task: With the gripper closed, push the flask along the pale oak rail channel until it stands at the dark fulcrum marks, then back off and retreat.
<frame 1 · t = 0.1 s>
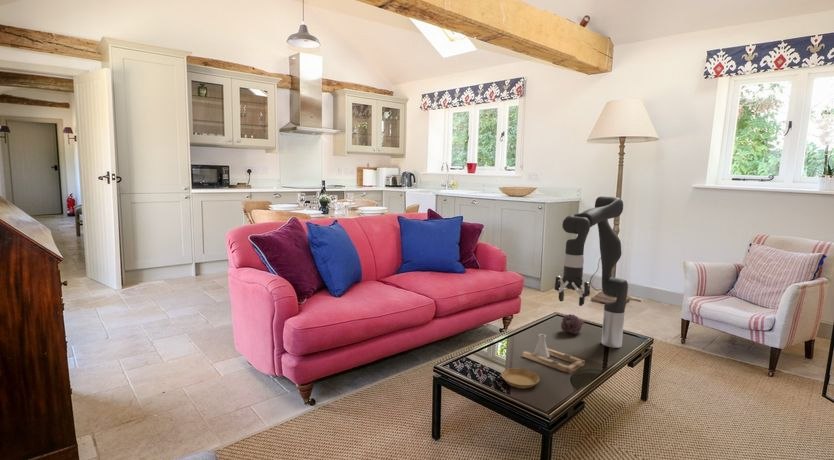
hand: (570, 303, 185), 29 cm above the table, fingers open, 8 cm apart
beam channel: (550, 359, 199), on the table
pine cone: (570, 333, 234), on the table
flask: (540, 356, 203), on the table
plant saucer: (519, 382, 177), on the table
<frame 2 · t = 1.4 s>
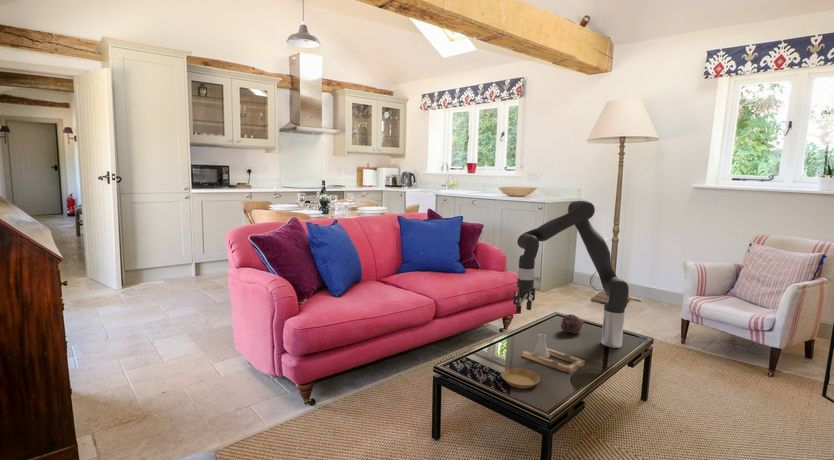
hand: (523, 311, 207), 19 cm above the table, fingers open, 8 cm apart
nothing on the table moved.
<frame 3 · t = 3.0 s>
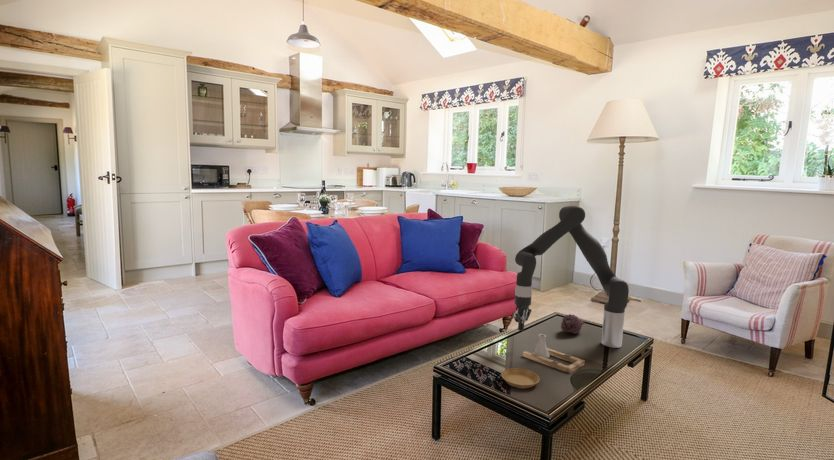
hand: (520, 330, 209), 9 cm above the table, fingers closed
nothing on the table moved.
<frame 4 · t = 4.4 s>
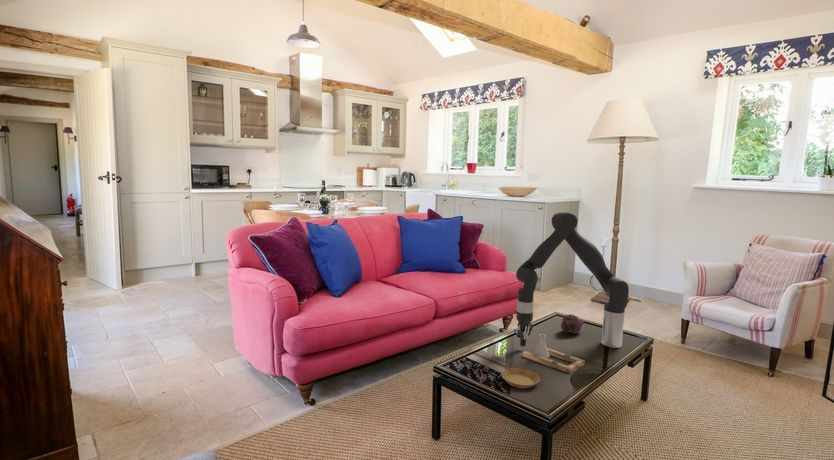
hand: (522, 345, 209), 2 cm above the table, fingers closed
nothing on the table moved.
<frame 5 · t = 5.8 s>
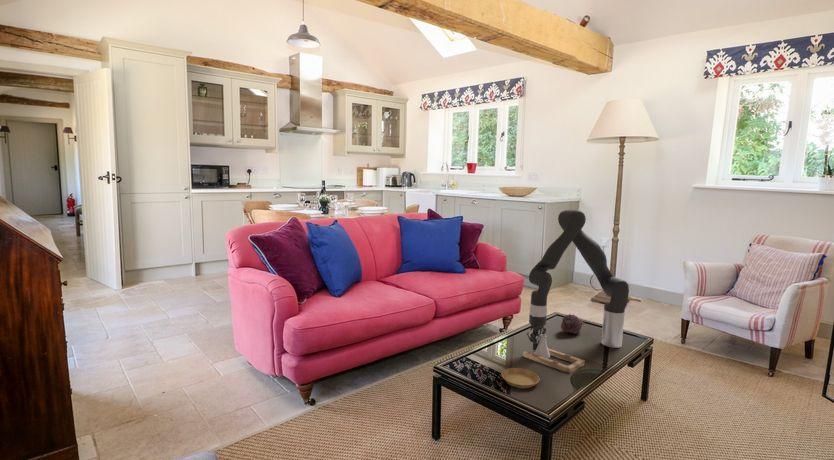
hand: (535, 350, 205), 2 cm above the table, fingers closed
flask: (541, 357, 202), on the table, touching gripper
everything else where it was.
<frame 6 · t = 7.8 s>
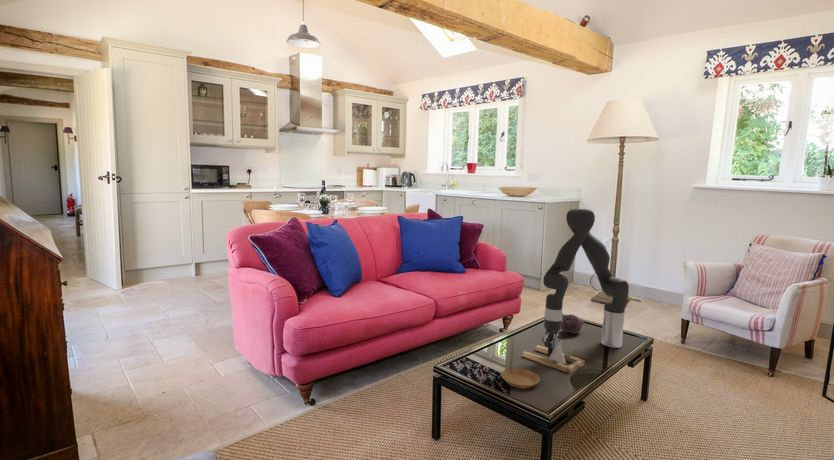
hand: (550, 355, 199), 2 cm above the table, fingers closed
flask: (556, 362, 196), on the table, touching gripper
everything else where it was.
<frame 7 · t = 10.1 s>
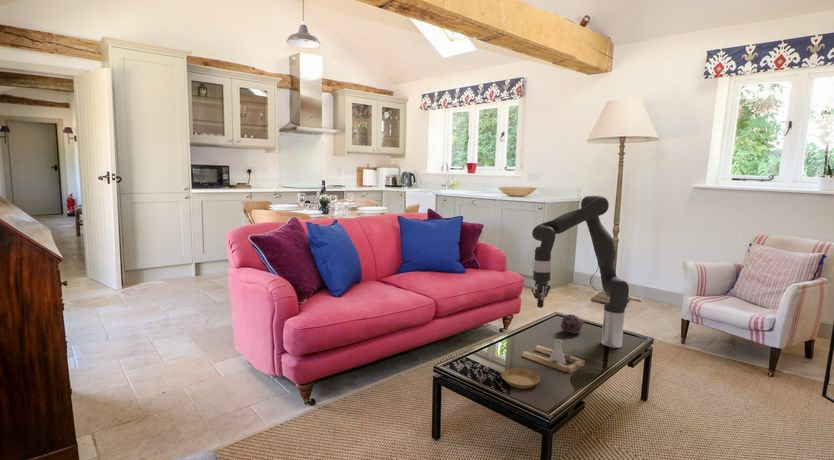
hand: (540, 307, 203), 22 cm above the table, fingers closed
flask: (557, 362, 196), on the table
everything else where it was.
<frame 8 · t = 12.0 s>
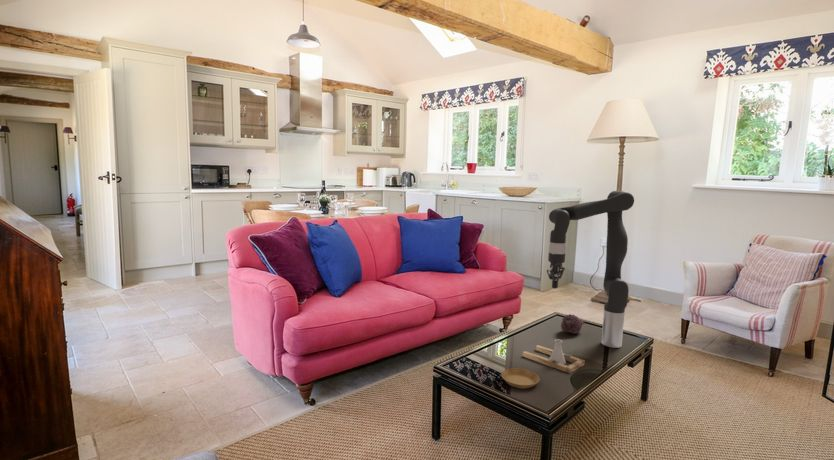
hand: (554, 288, 211), 29 cm above the table, fingers closed
nothing on the table moved.
at the end: flask inside the target area (1.8 cm from its centre), on the table; flask tilted 0° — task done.
